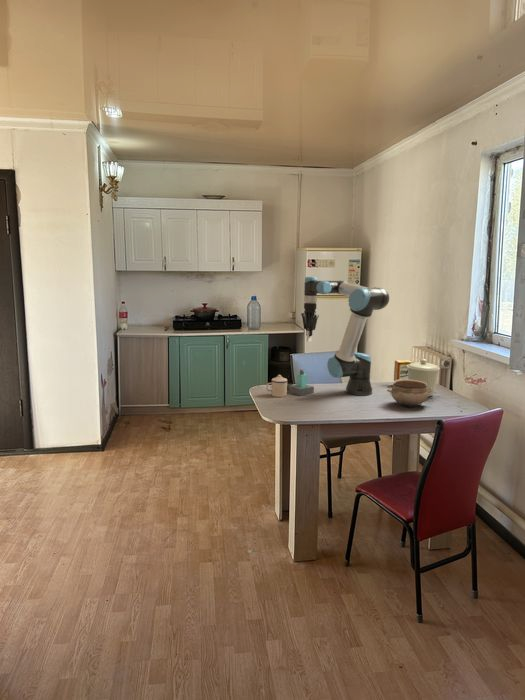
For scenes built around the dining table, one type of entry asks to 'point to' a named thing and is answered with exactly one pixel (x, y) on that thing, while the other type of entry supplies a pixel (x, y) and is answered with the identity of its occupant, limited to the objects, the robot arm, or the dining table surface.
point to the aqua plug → (301, 379)
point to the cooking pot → (409, 392)
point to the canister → (424, 373)
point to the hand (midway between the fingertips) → (309, 341)
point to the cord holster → (288, 386)
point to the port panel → (301, 390)
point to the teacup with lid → (278, 386)
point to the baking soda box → (401, 369)
